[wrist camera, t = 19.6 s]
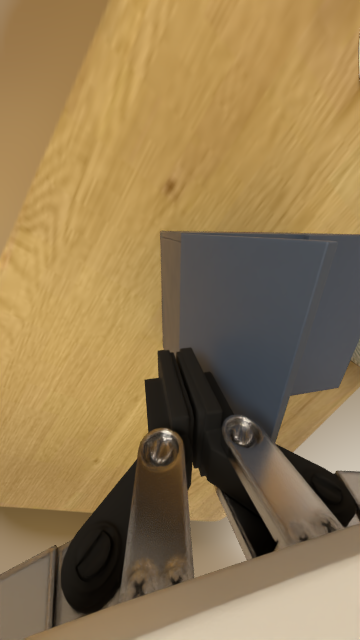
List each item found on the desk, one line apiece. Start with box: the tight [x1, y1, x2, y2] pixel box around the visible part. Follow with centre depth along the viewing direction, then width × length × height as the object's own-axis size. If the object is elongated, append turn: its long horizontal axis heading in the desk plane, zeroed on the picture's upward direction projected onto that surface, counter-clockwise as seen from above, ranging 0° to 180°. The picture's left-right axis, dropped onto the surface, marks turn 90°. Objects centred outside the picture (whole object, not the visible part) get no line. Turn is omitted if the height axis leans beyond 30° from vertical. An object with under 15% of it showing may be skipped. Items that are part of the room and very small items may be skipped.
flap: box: [179, 234, 338, 443], centre depth 10 cm, size 7×13×1 cm
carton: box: [160, 231, 360, 396], centre depth 19 cm, size 15×13×10 cm
